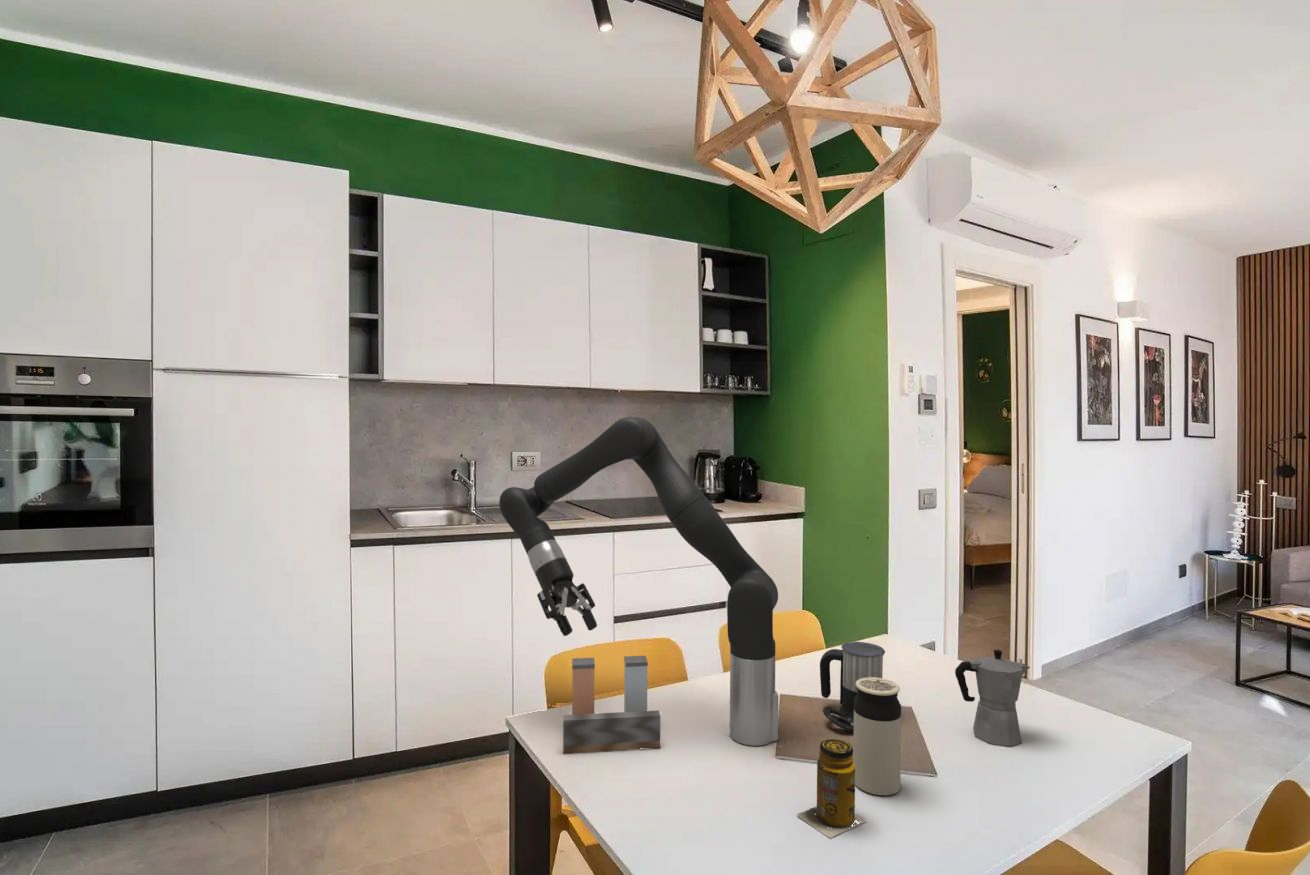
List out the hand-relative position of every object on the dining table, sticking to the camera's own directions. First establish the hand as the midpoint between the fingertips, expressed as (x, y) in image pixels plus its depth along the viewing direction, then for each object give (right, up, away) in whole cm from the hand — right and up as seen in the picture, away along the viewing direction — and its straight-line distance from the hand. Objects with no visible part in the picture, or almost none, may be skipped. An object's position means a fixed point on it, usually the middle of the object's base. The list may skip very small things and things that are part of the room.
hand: (581, 631), depth 144 cm
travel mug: (+55, -21, -23) cm, 63 cm away
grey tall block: (+12, -18, -1) cm, 22 cm away
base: (+6, -20, -4) cm, 22 cm away
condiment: (+44, -21, -33) cm, 60 cm away
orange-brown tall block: (+1, -18, -2) cm, 19 cm away
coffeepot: (+85, -21, -4) cm, 88 cm away
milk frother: (+59, -20, +4) cm, 62 cm away
